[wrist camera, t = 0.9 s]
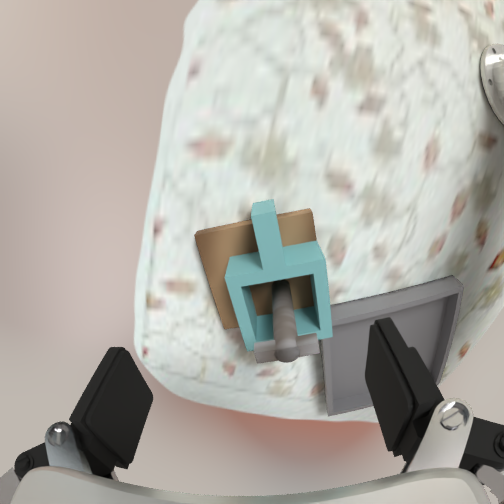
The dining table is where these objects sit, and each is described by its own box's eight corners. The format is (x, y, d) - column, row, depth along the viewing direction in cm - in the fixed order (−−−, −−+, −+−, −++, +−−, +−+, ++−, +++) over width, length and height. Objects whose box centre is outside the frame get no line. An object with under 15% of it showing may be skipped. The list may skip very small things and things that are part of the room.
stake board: (309, 208, 29) (338, 255, 18) (323, 305, 33) (344, 378, 22) (197, 230, 30) (162, 287, 19) (225, 321, 35) (212, 397, 24)
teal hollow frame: (309, 192, 27) (317, 203, 23) (325, 312, 32) (332, 336, 28) (217, 210, 28) (209, 224, 24) (249, 325, 33) (247, 351, 29)
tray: (452, 275, 31) (464, 285, 28) (432, 372, 39) (438, 384, 36) (316, 307, 33) (320, 322, 31) (325, 402, 41) (328, 416, 38)
